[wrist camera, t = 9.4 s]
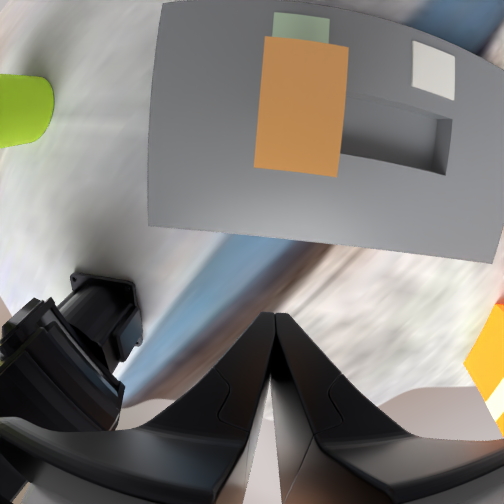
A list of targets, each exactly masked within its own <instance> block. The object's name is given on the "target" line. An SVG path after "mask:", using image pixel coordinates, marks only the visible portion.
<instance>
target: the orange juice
mask: <svg viewBox="0 0 504 504" xmlns="http://www.w3.org/2000/svg"><path fill="white" fill-rule="evenodd" d="M463 364H464V366H465V367H466V369H467V371H468V372H469V374H470V376H471V377H472V379H473V381H474V383H475V384H476V386H477V388H478V389H479V391H480V393H481V395H482V397H483V398H484V400H485V402H486V405H487V407H488V409H489V410H490V413H491V414H492V416H493V418H494V420H495V421H496V423H497V425H498V427H499V429H500V431H501V433H502V435H503V437H504V305H502V304H495V305H494V307H493V310H492V312H491V314H490V316H489V318H488V320H487V322H486V324H485V326H484V328H483V330H482V332H481V334H480V335H479V337H478V339H477V341H476V343H475V345H474V346H473V348H472V350H471V352H470V353H469V355H468V357H467V358H466V360H465V362H464V363H463Z"/></svg>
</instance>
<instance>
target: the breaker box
mask: <svg viewBox="0 0 504 504" xmlns="http://www.w3.org/2000/svg"><path fill="white" fill-rule="evenodd" d="M265 36H269V37H282V38H292V39H300V40H308V41H315V42H322V43H328V44H334V45H339V46H344V47H349V52H348V71H347V85H346V98H345V110H344V121H343V131H342V140H341V149H340V157H339V165H338V173H337V177H331V176H324V175H316V174H308V173H300V172H292V171H283V170H273V169H263V168H254V159H255V147H256V135H257V123H258V111H259V100H260V88H261V76H262V65H263V54H264V42H265ZM503 225H504V70H502V69H501V68H499V67H497V66H495V65H494V64H492V63H490V62H488V61H486V60H485V59H483V58H481V57H479V56H477V55H475V54H473V53H471V52H469V51H467V50H465V49H463V48H461V47H459V46H456V45H454V44H452V43H450V42H447V41H445V40H443V39H440V38H438V37H436V36H433V35H430V34H428V33H425V32H423V31H420V30H417V29H414V28H411V27H409V26H406V25H403V24H399V23H396V22H393V21H390V20H386V19H383V18H379V17H375V16H372V15H368V14H364V13H360V12H355V11H351V10H346V9H341V8H336V7H330V6H324V5H318V4H311V3H304V2H295V1H285V0H187V1H177V2H169V3H163V6H162V11H161V17H160V23H159V30H158V37H157V44H156V52H155V60H154V69H153V79H152V90H151V102H150V117H149V137H148V226H156V227H167V228H178V229H189V230H200V231H211V232H221V233H231V234H242V235H252V236H261V237H271V238H281V239H290V240H300V241H309V242H318V243H327V244H336V245H345V246H354V247H362V248H371V249H379V250H388V251H396V252H404V253H412V254H420V255H428V256H436V257H444V258H451V259H459V260H467V261H474V262H481V263H489V264H492V263H493V260H494V257H495V254H496V250H497V247H498V244H499V240H500V237H501V233H502V229H503Z"/></svg>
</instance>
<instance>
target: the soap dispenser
mask: <svg viewBox="0 0 504 504" xmlns="http://www.w3.org/2000/svg"><path fill="white" fill-rule="evenodd" d="M53 107H54V95H53V90H52V87H51V85H50V83H49V82H48V81H47V80H46V79H45V78H42V77H37V76H26V75H11V74H0V148H5V147H10V146H15V145H21V144H26V143H31V142H34V141H36V140H37V139H39V138H40V137H41V136H42V135H43V133H44V132H45V130H46V129H47V127H48V125H49V123H50V120H51V117H52V113H53Z"/></svg>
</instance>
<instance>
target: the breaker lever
mask: <svg viewBox="0 0 504 504" xmlns="http://www.w3.org/2000/svg"><path fill="white" fill-rule="evenodd" d="M348 52H349V47H344V46H339V45H334V44H328V43H322V42H315V41H308V40H300V39H292V38H282V37H269V36H265V42H264V54H263V65H262V76H261V88H260V100H259V111H258V123H257V135H256V147H255V159H254V168H263V169H273V170H283V171H292V172H300V173H308V174H316V175H324V176H331V177H337V173H338V165H339V157H340V149H341V140H342V131H343V121H344V110H345V98H346V85H347V71H348Z"/></svg>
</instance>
